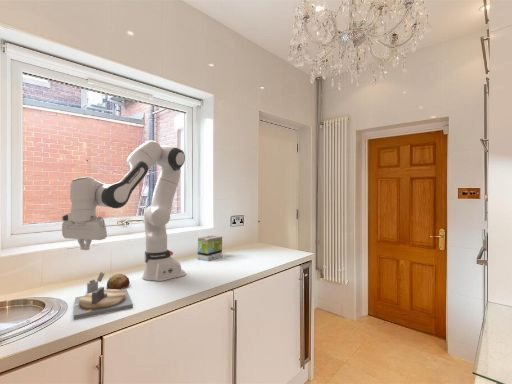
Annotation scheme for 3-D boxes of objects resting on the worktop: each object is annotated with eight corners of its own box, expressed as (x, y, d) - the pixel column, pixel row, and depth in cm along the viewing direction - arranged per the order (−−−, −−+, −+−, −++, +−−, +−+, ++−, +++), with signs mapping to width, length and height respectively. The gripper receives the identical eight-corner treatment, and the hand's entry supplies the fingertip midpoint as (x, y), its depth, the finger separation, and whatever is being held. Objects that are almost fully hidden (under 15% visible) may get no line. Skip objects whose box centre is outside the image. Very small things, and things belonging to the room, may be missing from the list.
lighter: (88, 292, 129) (88, 275, 129) (87, 291, 131) (87, 274, 130) (104, 288, 135) (104, 272, 134) (103, 287, 136) (103, 271, 136)
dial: (92, 292, 124) (92, 279, 124) (131, 292, 126) (132, 279, 125) (69, 309, 108) (69, 294, 107) (115, 308, 109) (115, 293, 108)
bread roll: (106, 293, 138) (99, 281, 135) (124, 279, 146) (117, 267, 143) (117, 298, 132) (110, 285, 130) (135, 283, 140) (129, 270, 137)
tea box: (208, 261, 186) (208, 239, 186) (197, 259, 192) (197, 237, 192) (222, 257, 199) (222, 236, 199) (211, 255, 205) (211, 234, 204)
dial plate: (126, 292, 130) (126, 288, 130) (132, 307, 113) (132, 303, 113) (75, 300, 120) (75, 296, 120) (73, 319, 103) (73, 314, 103)
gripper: (110, 215, 114) (111, 249, 115) (72, 215, 121) (73, 246, 121) (97, 217, 108) (98, 253, 109) (58, 216, 115) (59, 250, 115)
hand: (85, 249), depth 115 cm, fingers closed
